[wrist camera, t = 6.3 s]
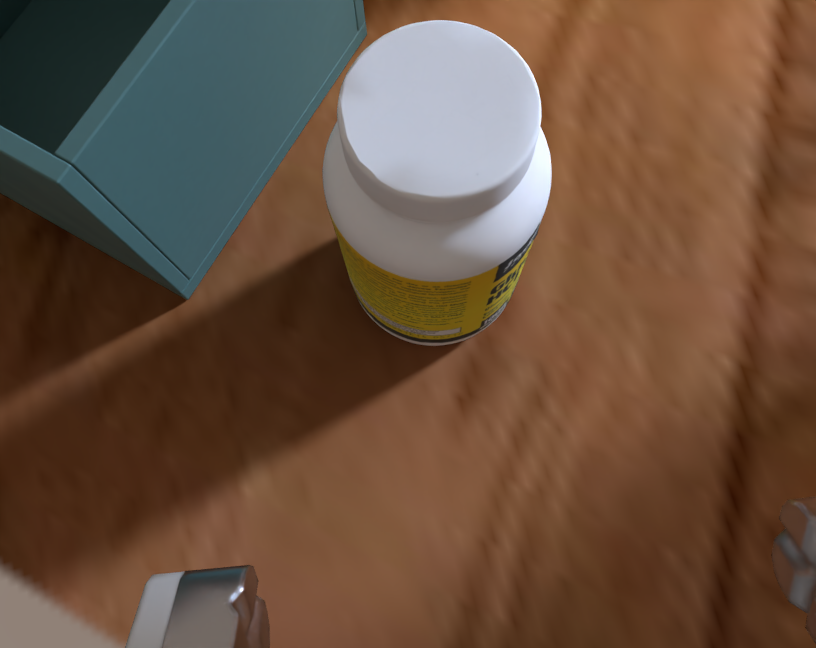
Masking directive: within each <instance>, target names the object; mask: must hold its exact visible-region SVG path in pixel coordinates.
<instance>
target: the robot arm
mask: <svg viewBox="0 0 816 648" xmlns="http://www.w3.org/2000/svg"><path fill="white" fill-rule="evenodd" d="M779 519H780V521H781V522H782V524H783V525H784V527H785V528H786V529H785V530H784V531H783V532H781V533H780V534H779V535H778V536H777V537H776V538H775V539H774V543H773V549H772V555H771V556H772V562H773V568H774V574H775V576H776V578H777V581H778V583H779V586H780V588H781V590H782V591H783V593H784V595H785V596H786V598H787V599H788V601H789V602H790V603H792V604H793V605H795V606H796V607H798V608H800V609H801V610H803V611H804V612H806V613H807V620H806V627H805V628H806V630H807V631H808V633H809V634H810V636H811V637H812V639H813V640H814V642H815V644H816V496H814V497H806V498H798V499H791V500H787V501H786V502H785V503H784V505H783V506H782V508H781V512H780V516H779ZM257 587H258V578H257V575H256V573H255V570H254V567H253V566H251V565H245V566H234V567H223V568H213V569H202V570H191V571H185V572H175V573H165V574H155V575H152V576H151V577H150V579H149V580H148V581H147V583H146V584H145V587H144V590H143V593H142V596H141V599H140V602H139V606H138V609H137V612H136V615H135V618H134V621H133V624H132V627H131V631H130V634H129V637H128V640H127V643H126V646H125V648H270V626H269V619H268V612H267V608H266V605H265V601H264V600H263V599H261V598H260V597H258V596H257V595H256V594H257Z"/></svg>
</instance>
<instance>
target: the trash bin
mask: <svg viewBox="0 0 816 648" xmlns="http://www.w3.org/2000/svg"><path fill="white" fill-rule="evenodd" d="M366 35H367V29H366V22H365V14H364V6H363V0H0V193H1V194H3V195H5V196H7V197H8V198H10V199H12V200H13V201H15V202H17V203H19V204H20V205H22V206H24V207H26V208H27V209H29V210H31V211H33V212H34V213H36V214H38V215H40V216H41V217H43V218H45V219H47V220H48V221H50V222H52V223H54V224H55V225H57V226H59V227H61V228H62V229H64V230H66V231H68V232H69V233H71V234H73V235H75V236H76V237H78V238H80V239H82V240H83V241H85V242H87V243H89V244H90V245H92V246H94V247H95V248H97V249H99V250H101V251H102V252H104V253H106V254H108V255H109V256H111V257H113V258H115V259H116V260H118V261H120V262H122V263H123V264H125V265H127V266H129V267H130V268H132V269H134V270H136V271H137V272H139V273H141V274H143V275H144V276H146V277H148V278H150V279H151V280H153V281H155V282H157V283H158V284H160V285H162V286H164V287H165V288H167V289H169V290H171V291H172V292H174V293H176V294H178V295H179V296H181V297H183V298H184V299H186V300H188V299H189V298H190V296H191V295H192V293H193V292H194V290H195V289H196V287H197V286H198V284H199V283H200V281H201V280H202V278H203V277H204V276H205V274H206V273H207V271H208V270H209V268H210V267H211V265H212V264H213V262H214V261H215V259H216V258H217V256H218V255H219V253H220V252H221V250H222V249H223V247H224V246H225V244H226V243H227V241H228V240H229V238H230V237H231V235H232V234H233V232H234V231H235V230H236V228H237V227H238V225H239V224H240V222H241V221H242V219H243V218H244V216H245V215H246V213H247V212H248V210H249V209H250V207H251V206H252V204H253V203H254V201H255V200H256V198H257V197H258V195H259V194H260V192H261V191H262V189H263V188H264V186H265V185H266V184H267V182H268V181H269V179H270V178H271V176H272V175H273V173H274V172H275V170H276V169H277V167H278V166H279V164H280V163H281V161H282V160H283V158H284V157H285V155H286V154H287V152H288V151H289V149H290V148H291V146H292V145H293V143H294V142H295V140H296V139H297V138H298V136H299V135H300V133H301V132H302V130H303V129H304V127H305V126H306V124H307V123H308V121H309V120H310V118H311V117H312V115H313V114H314V112H315V111H316V109H317V108H318V106H319V105H320V103H321V102H322V100H323V99H324V97H325V96H326V94H327V93H328V92H329V90H330V89H331V87H332V86H333V84H334V83H335V81H336V80H337V78H338V77H339V75H340V74H341V72H342V71H343V69H344V68H345V66H346V65H347V63H348V62H349V60H350V59H351V57H352V56H353V54H354V53H355V51H356V50H357V49H358V47H359V46H360V44H361V43H362V41H363V40H364V38H365V37H366Z"/></svg>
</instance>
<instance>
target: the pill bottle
mask: <svg viewBox="0 0 816 648" xmlns="http://www.w3.org/2000/svg"><path fill="white" fill-rule="evenodd" d="M540 124H541V100H540V95H539V90H538V87H537V84H536V81H535V78H534V76H533V74H532V72H531V70H530V69H529V67H528V65H527V64H526V62H525V61H524V60H523V58H522V57H521V56H520V55H519V53H518V52H517V51H516V50H515V49H514V48H512V47H511V46H510V45H509V44H508V43H506V42H505V41H504V40H502V39H501V38H499V37H498V36H496V35H494V34H493V33H491V32H488V31H486V30H484V29H482V28H479V27H477V26H474V25H470V24H466V23H462V22H456V21H447V20H435V21H425V22H418V23H413V24H409V25H406V26H403V27H401V28H398V29H396V30H393V31H391V32H389V33H387V34H385V35H383V36H382V37H380V38H379V39H377V40H376V41H375V42H373V43H372V44H371V45H370V46H368V47H367V48H366V49H365V50H364V51H363V52H362V53H361V54H360V55H359V56H358V58H357V59H356V60H355V61H354V63H353V64H352V66H351V67H350V69H349V70H348V72H347V74H346V76H345V78H344V80H343V83H342V86H341V89H340V94H339V98H338V107H337V123H336V124H335V126H334V128H333V130H332V132H331V134H330V137H329V140H328V143H327V146H326V150H325V155H324V162H323V186H324V193H325V198H326V203H327V207H328V210H329V213H330V216H331V219H332V222H333V226H334V229H335V232H336V235H337V238H338V241H339V245H340V248H341V251H342V255H343V258H344V261H345V265H346V268H347V271H348V274H349V278H350V280H351V284H352V287H353V289H354V292H355V294H356V296H357V298H358V300H359V302H360V304H361V306H362V307H363V309H364V310H365V312H366V313H367V314H368V315H369V317H370V318H371V319H372V320H373V321H374V322H375V323H376V324H377V325H379V326H380V327H381V328H382V329H384V330H385V331H387V332H388V333H390V334H392V335H393V336H395V337H398V338H400V339H402V340H405V341H407V342H411V343H415V344H420V345H428V346H438V345H447V344H453V343H457V342H461V341H464V340H466V339H469V338H471V337H473V336H475V335H476V334H478V333H480V332H481V331H483V330H484V329H485V328H487V327H488V326H489V325H490V324H491V323H493V322H494V321H495V320H496V318H497V317H498V316H499V315H500V314H501V313H502V311H503V310H504V308H505V307H506V305H507V303H508V302H509V300H510V298H511V296H512V294H513V291H514V289H515V287H516V284H517V282H518V279H519V276H520V274H521V271H522V268H523V266H524V263H525V261H526V258H527V255H528V253H529V251H530V248H531V246H532V243H533V240H534V238H535V237H536V235H537V233H538V228H539V225H540V223H541V220H542V217H543V215H544V212H545V209H546V206H547V203H548V199H549V194H550V188H551V159H550V152H549V149H548V145H547V141H546V139H545V136H544V133H543V131H542V129H541V127H540Z"/></svg>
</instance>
